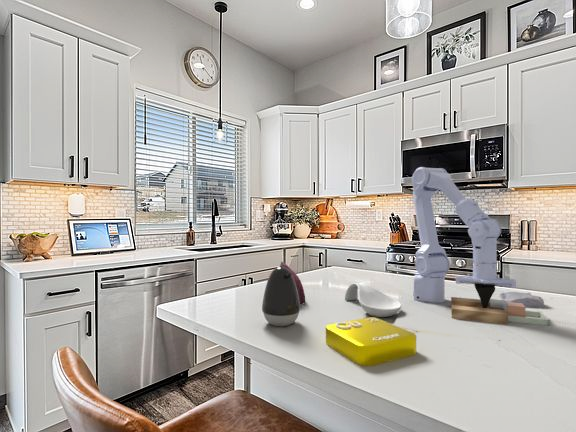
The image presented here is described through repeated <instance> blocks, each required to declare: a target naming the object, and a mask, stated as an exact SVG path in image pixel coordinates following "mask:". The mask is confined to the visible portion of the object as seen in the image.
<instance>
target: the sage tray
mask: <svg viewBox="0 0 576 432" xmlns="http://www.w3.org/2000/svg"><path fill="white" fill-rule="evenodd" d="M508 322H513V323H520V324H521V323H524V324H532V325H540V326H549V327H550V326H551V320H550V318H548V316H547V314H545V313H544V312H543V311H536V310H529V309H525V317H519V316H509V315H508Z"/></svg>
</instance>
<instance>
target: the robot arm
mask: <svg viewBox="0 0 576 432" xmlns="http://www.w3.org/2000/svg"><path fill="white" fill-rule="evenodd" d="M451 176H452V175H451V174H450V173H449V172H447V170H446V169H445V168H442V167H439V168H436V167H434V168H433V167H424V166H420V167H417V168H416V169H415V170H414V172H413V173H412V176H411V183H412V184H411V185H412V189H413V190H412V200H413V205H414V210H415V217H416V224H417V229H418V230H417V231H418V237H419V242H420V247H419V249H418V250H417V251H416V252H415V263H414V266H415V270H416V271H417V273H418V274H414V276H413V291H412V292H413V294H412V296H413V301H416V302H417V301H419V302H427V303H435V304H436V303H444V302H445V300H446V299H445V298H446V297H445V295H446V294H445V293H446V291H445V284H446V283H445V280H446V279H445V276H447V272H448V271H449V270H450V268H451V261H450V259H449V258H448V256H447V252H446V250H445V249H444V248H443V247H442V246H441V245H440V244H439V240H438V238H439V237H438V233H437V226H436V220H435V216H434V214H435V213H434V208H433V204H432V203H433V202H432V197H433V196H434V195H436V193H437V192H439V191H440V192H441V193H443V195H444V196H445V197H446V198H447V199H448V200H449V201H450V202H451V203H452V204H453V205H454V206H455V209H454V211H455V213H456V214H457V216H458V217H459V218H460V219H461V220H462V222H463V223H464V225H465V226H467V228H468V229H467V233H468V236H469V238H470V239H471V244H472V275H455V284H456V285H459V284H462V285H463V284H464V285H465V284H466V285H474V286H473V287H474V288H475V291H476V292H477V295H478V296H479V299H480V300H481V304H482V308H487V307H488V303H489V301H490V299H492V296H493V295H494V293H495V292H496V287H505V288H511V289H513V288H514V289H516V288H517V281H516V280H515V279H512V278H501V277H497V275H498V273H497V267H498V266H497V254H498V253H497V251H498V250H497V239H498V238H499V237H500V236H501V234H502V225H501V224H500V222H499V221H498V220H497V219H495V218H490V217H489V214H487V213H485V212H484V211H483V210H482V208H480V206H479V203H478V201H476V200H473V199H470V198H466V197H465V195H463V193H462V192H461V191H460V189H459V188H458V187H457V185H456V184H455V182H454V181H453V180H452V178H451Z"/></svg>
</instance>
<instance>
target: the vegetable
mask: <svg viewBox="0 0 576 432" xmlns="http://www.w3.org/2000/svg"><path fill="white" fill-rule="evenodd" d="M279 267H285V268H287V269H288V270H289V271H290V272H291V274H292V276H293V278H294V281H295V284H296V287H297V291H298V295H299V301H300V304H303V303H305V304H306V294H305V291H304V287H303V283H302V281H301V279H300V278H299V276H298V275H297V274H296V272H295V271H294V270H293V269H292V268H291V267H289V265H288V264H286V263H285V262H283V261H281V262H280V264H279ZM303 305H304V304H303Z"/></svg>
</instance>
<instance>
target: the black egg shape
mask: <svg viewBox="0 0 576 432" xmlns="http://www.w3.org/2000/svg"><path fill="white" fill-rule="evenodd" d="M261 304H262V305H261V306H262V307H261V310H262V313H263V316H264V318H265V320H266V322H268V324H270V325H272V326H274V327H288V326H290V325H292V324H293V323H294V322H296V320H297V318H298V317H299V313H300V311H301V305H300V301H299V295H298V291H297V287H296V284H295V281H294V278H293V276H292V274H291V272H290V271H289V270H288V269H287V268H285V267H280V266H278V267H275V268H274V269H273V270H272V271H271V272H270V274H269V277H268V279H267V281H266V285H265V289H264V293H263V297H262V303H261Z"/></svg>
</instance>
